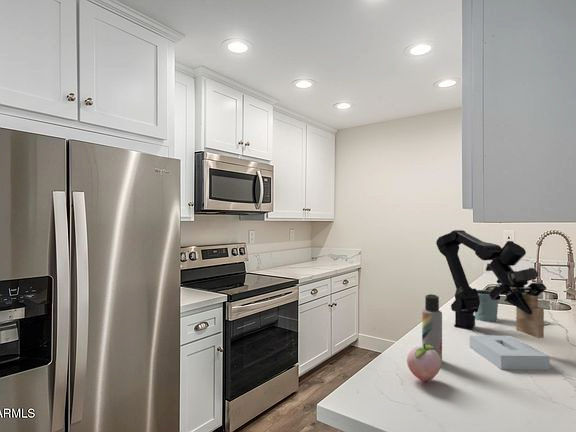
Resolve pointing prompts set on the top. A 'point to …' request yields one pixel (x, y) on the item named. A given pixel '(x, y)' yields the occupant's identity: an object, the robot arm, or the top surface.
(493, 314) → the teal canister
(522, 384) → the top surface
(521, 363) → the flat gray panel
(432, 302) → the lotion bottle
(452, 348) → the top surface
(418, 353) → the decorative fruit
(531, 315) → the angular brown block
